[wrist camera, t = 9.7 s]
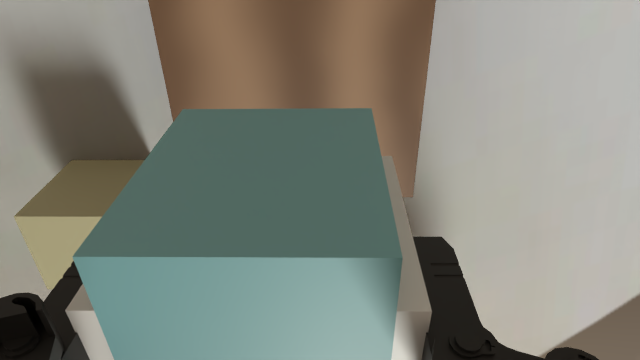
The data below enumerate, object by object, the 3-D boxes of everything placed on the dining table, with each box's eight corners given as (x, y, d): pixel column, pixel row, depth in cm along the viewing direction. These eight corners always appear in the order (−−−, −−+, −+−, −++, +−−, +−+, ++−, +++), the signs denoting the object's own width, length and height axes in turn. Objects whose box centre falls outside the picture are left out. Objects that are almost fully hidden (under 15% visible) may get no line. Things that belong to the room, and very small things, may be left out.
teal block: (210, 252, 17) (145, 436, 11) (182, 109, 14) (72, 256, 8) (364, 253, 17) (382, 439, 11) (371, 108, 14) (402, 258, 8)
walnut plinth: (207, 159, 32) (189, 198, 27) (170, -60, 24) (137, -54, 20) (400, 158, 31) (412, 197, 27) (422, -64, 24) (442, -59, 20)
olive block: (95, 225, 35) (47, 289, 29) (72, 159, 32) (13, 216, 26) (169, 225, 35) (136, 289, 29) (153, 159, 32) (113, 216, 26)
